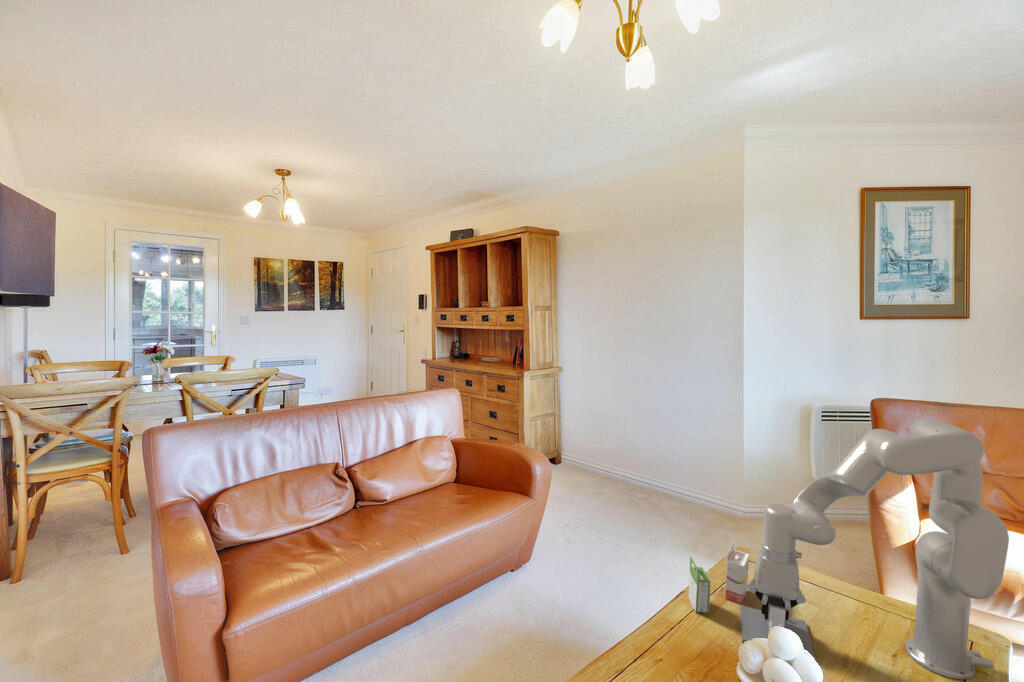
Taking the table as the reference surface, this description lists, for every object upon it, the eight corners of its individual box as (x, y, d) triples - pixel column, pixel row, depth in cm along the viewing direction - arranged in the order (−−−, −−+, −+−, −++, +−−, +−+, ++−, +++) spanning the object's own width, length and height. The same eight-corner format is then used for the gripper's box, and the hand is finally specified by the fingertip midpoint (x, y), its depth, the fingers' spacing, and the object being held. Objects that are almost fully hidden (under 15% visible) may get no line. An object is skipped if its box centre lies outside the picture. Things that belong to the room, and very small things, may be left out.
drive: (779, 613, 128) (781, 588, 127) (784, 636, 119) (785, 610, 118) (764, 609, 129) (766, 585, 129) (768, 632, 120) (769, 606, 120)
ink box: (709, 614, 132) (711, 568, 131) (695, 613, 132) (696, 568, 131) (701, 598, 139) (703, 555, 138) (688, 598, 139) (689, 554, 138)
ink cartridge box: (743, 605, 136) (745, 556, 135) (724, 598, 139) (726, 551, 138) (748, 590, 143) (750, 544, 142) (730, 584, 146) (732, 539, 145)
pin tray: (804, 624, 128) (805, 606, 127) (815, 662, 114) (816, 643, 114) (740, 608, 134) (740, 592, 134) (742, 643, 120) (743, 624, 120)
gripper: (812, 553, 122) (808, 619, 124) (742, 539, 129) (739, 602, 131) (818, 567, 116) (813, 637, 117) (743, 552, 122) (740, 618, 124)
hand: (774, 618), depth 124 cm, fingers closed on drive, 3 cm apart
